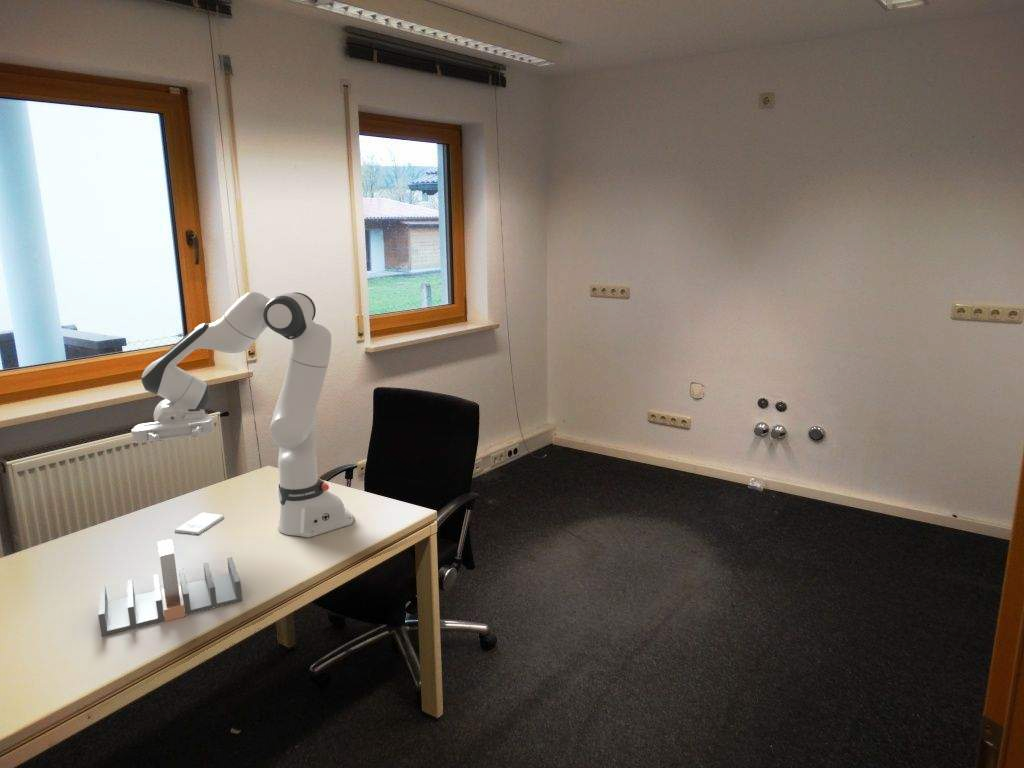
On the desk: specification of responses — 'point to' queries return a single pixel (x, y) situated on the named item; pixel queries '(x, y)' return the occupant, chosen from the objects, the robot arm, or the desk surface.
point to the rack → (153, 603)
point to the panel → (169, 573)
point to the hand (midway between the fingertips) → (176, 437)
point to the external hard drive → (200, 523)
